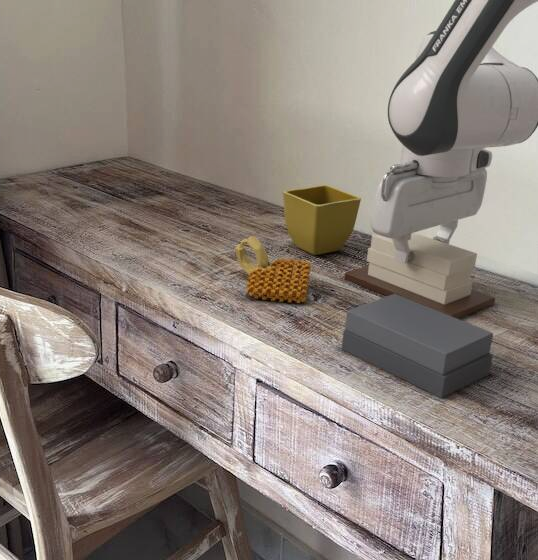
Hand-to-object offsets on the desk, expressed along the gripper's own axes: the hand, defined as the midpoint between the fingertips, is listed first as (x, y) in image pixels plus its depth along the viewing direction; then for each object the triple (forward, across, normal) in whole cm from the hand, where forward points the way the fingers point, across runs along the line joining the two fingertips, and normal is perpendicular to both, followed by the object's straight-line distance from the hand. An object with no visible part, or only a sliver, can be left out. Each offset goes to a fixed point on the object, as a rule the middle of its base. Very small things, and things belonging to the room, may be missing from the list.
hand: (421, 255), depth 111 cm
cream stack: (+5, 0, 0) cm, 5 cm away
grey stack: (+5, -18, -13) cm, 23 cm away
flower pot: (+6, +1, +20) cm, 21 cm away
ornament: (+6, -16, +13) cm, 21 cm away
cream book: (0, 0, 0) cm, 0 cm away
